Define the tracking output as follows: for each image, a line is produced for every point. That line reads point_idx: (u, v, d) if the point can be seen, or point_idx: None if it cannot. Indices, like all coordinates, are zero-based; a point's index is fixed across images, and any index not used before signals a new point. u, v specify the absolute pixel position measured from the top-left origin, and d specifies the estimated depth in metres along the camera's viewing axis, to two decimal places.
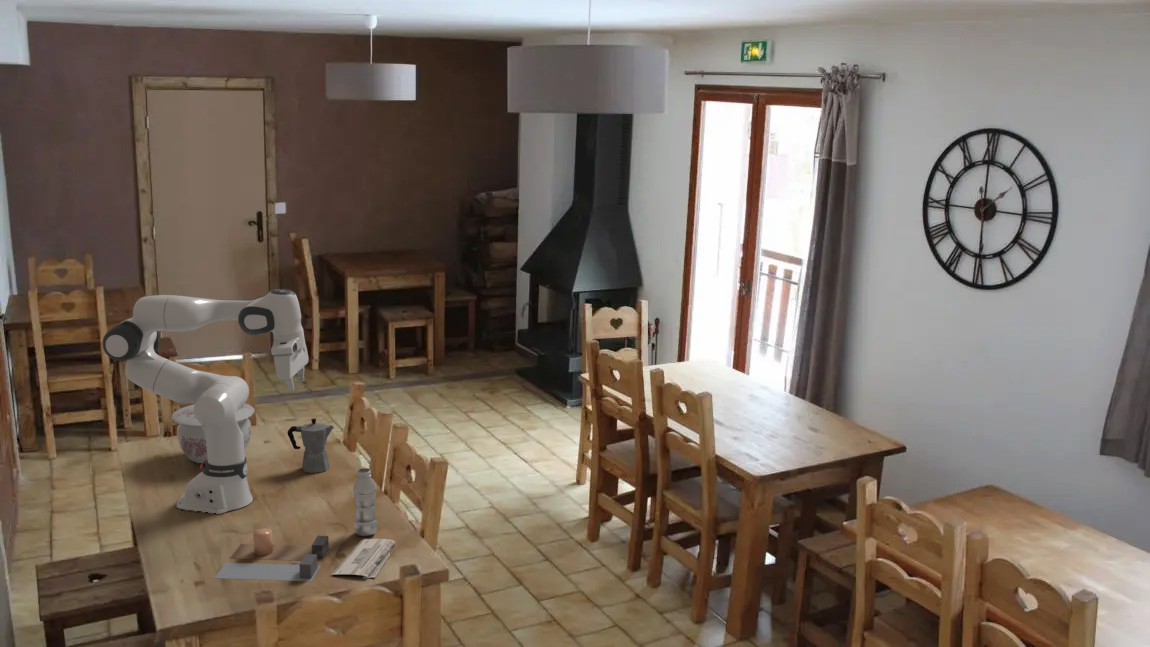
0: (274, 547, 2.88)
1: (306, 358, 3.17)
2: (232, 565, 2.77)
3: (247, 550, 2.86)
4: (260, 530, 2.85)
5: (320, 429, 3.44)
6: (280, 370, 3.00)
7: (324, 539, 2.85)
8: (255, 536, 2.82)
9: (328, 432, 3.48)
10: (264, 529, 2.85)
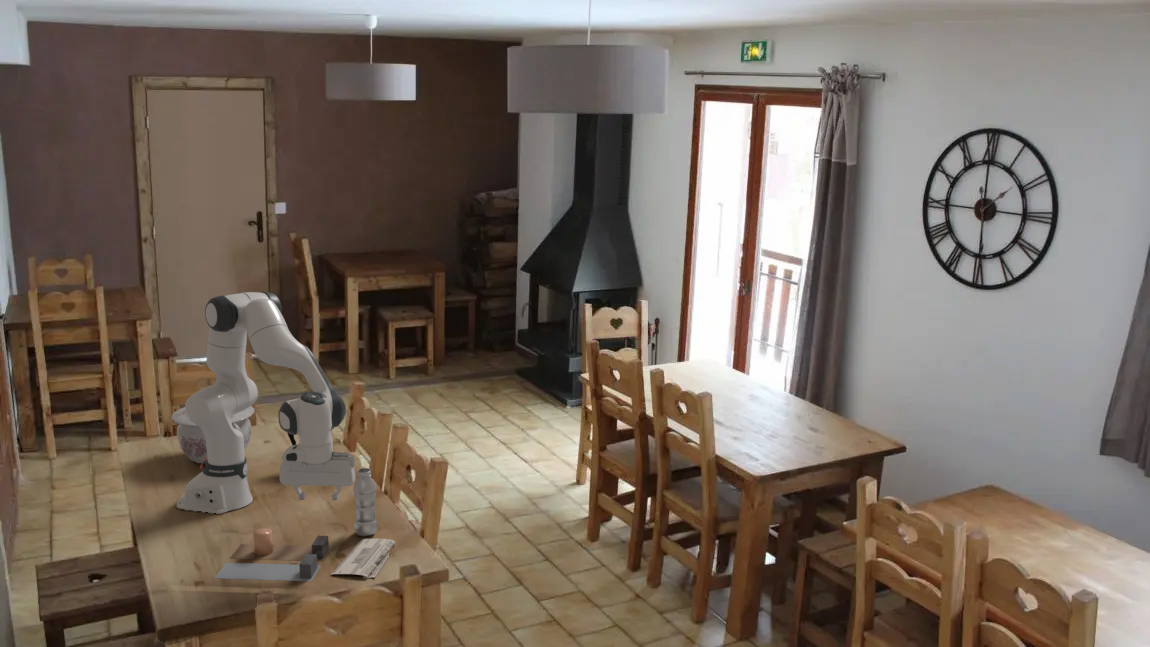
0: (274, 547, 2.88)
1: (343, 480, 2.78)
2: (232, 565, 2.77)
3: (247, 550, 2.86)
4: (260, 530, 2.85)
5: None
6: None
7: (324, 539, 2.85)
8: (255, 536, 2.82)
9: None
10: (264, 529, 2.85)
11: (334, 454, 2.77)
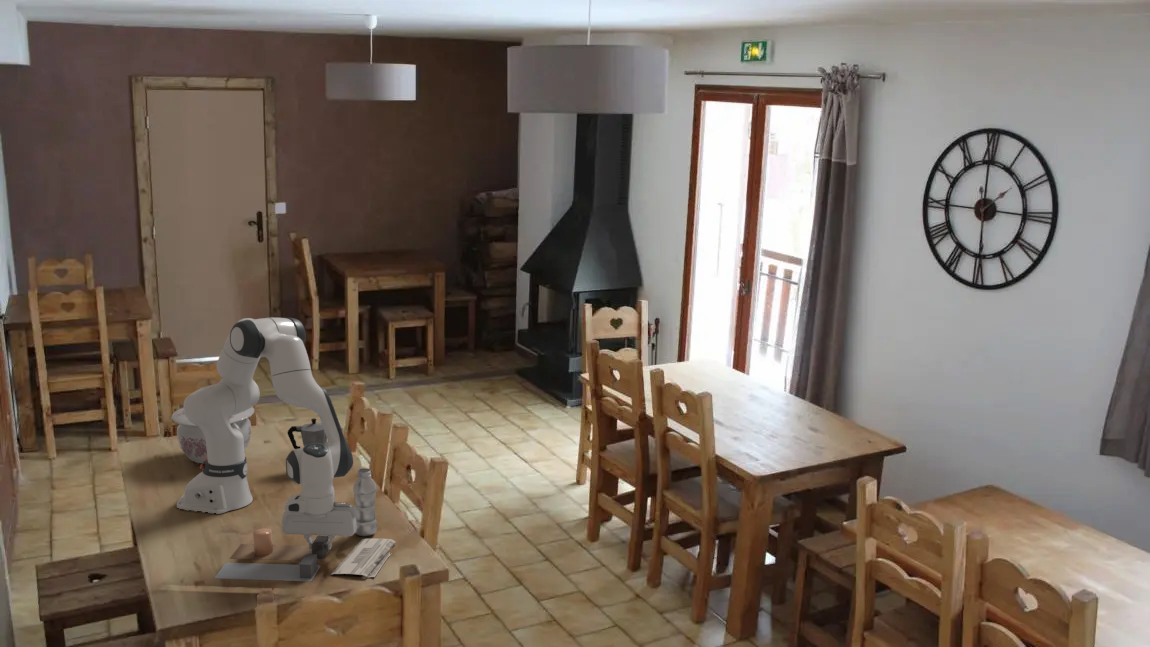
0: (274, 547, 2.88)
1: (344, 530, 2.81)
2: (232, 565, 2.77)
3: (246, 550, 2.86)
4: (260, 530, 2.85)
5: (320, 429, 3.44)
6: None
7: (324, 539, 2.85)
8: (255, 536, 2.82)
9: None
10: (264, 529, 2.85)
11: (336, 504, 2.81)
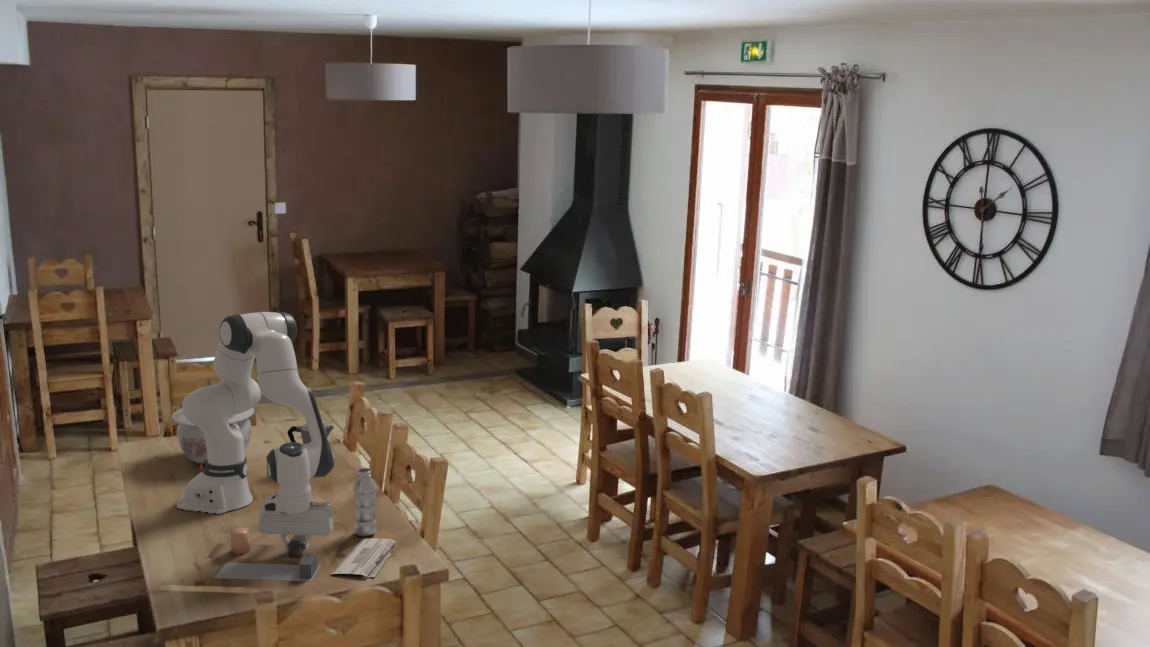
0: (251, 546, 2.88)
1: (321, 529, 2.81)
2: (232, 565, 2.77)
3: (224, 549, 2.86)
4: (237, 529, 2.85)
5: None
6: None
7: (301, 538, 2.85)
8: (232, 535, 2.82)
9: (328, 432, 3.48)
10: (241, 529, 2.85)
11: (312, 504, 2.81)
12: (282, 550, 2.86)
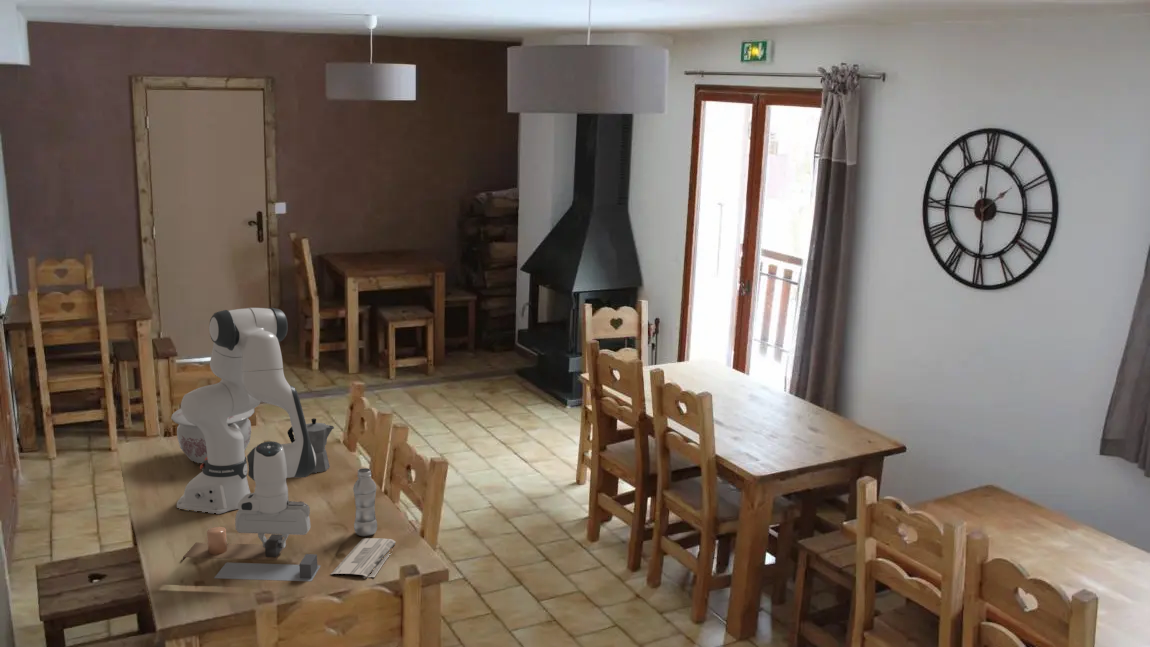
0: (229, 545, 2.88)
1: (298, 529, 2.81)
2: (232, 565, 2.77)
3: (201, 548, 2.86)
4: (214, 529, 2.85)
5: (320, 429, 3.44)
6: None
7: (278, 538, 2.85)
8: (209, 535, 2.82)
9: (328, 432, 3.48)
10: (218, 528, 2.86)
11: (289, 503, 2.81)
12: (259, 549, 2.86)
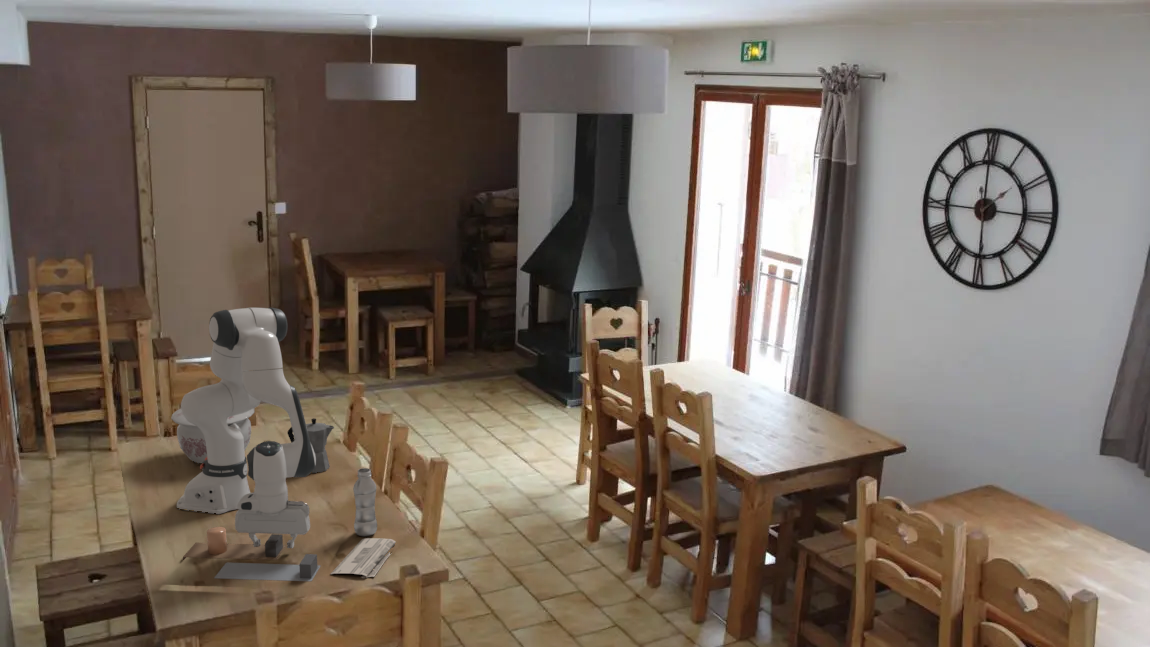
0: (228, 545, 2.88)
1: (297, 528, 2.81)
2: (232, 565, 2.77)
3: (201, 548, 2.86)
4: (214, 529, 2.85)
5: (320, 429, 3.44)
6: None
7: (278, 538, 2.85)
8: (208, 535, 2.82)
9: (328, 432, 3.48)
10: (218, 528, 2.86)
11: (289, 503, 2.81)
12: (259, 549, 2.86)
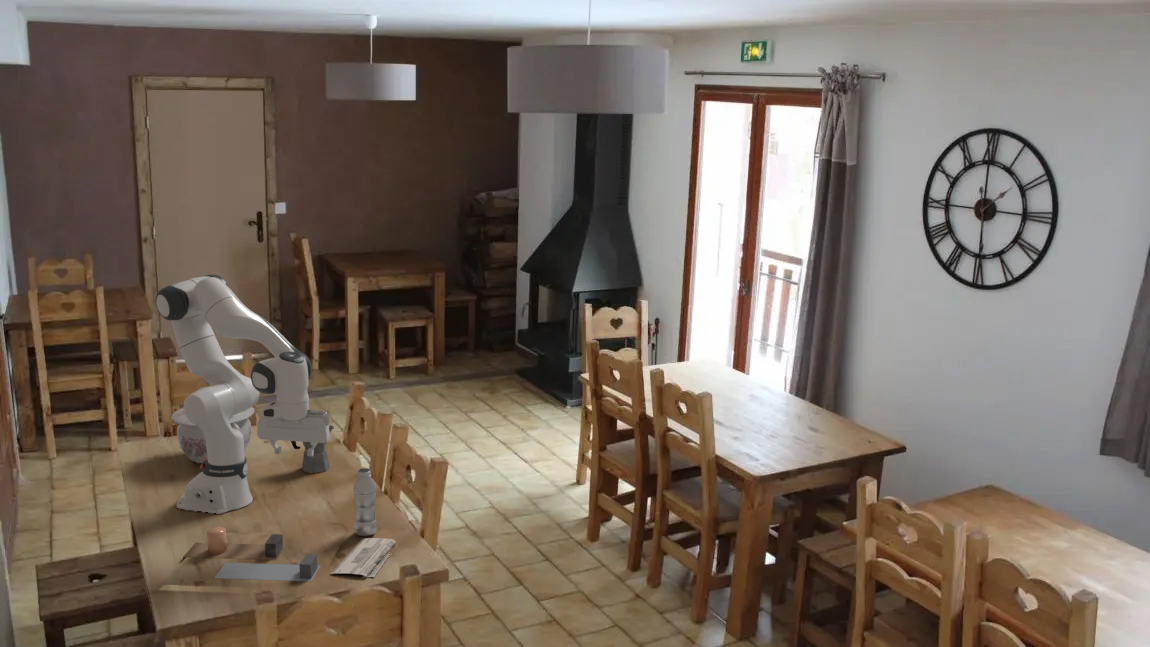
0: (228, 545, 2.88)
1: (317, 437, 2.90)
2: (232, 565, 2.77)
3: (201, 548, 2.86)
4: (214, 529, 2.85)
5: None
6: None
7: (278, 538, 2.85)
8: (208, 535, 2.82)
9: None
10: (218, 528, 2.86)
11: (310, 412, 2.90)
12: (259, 549, 2.86)
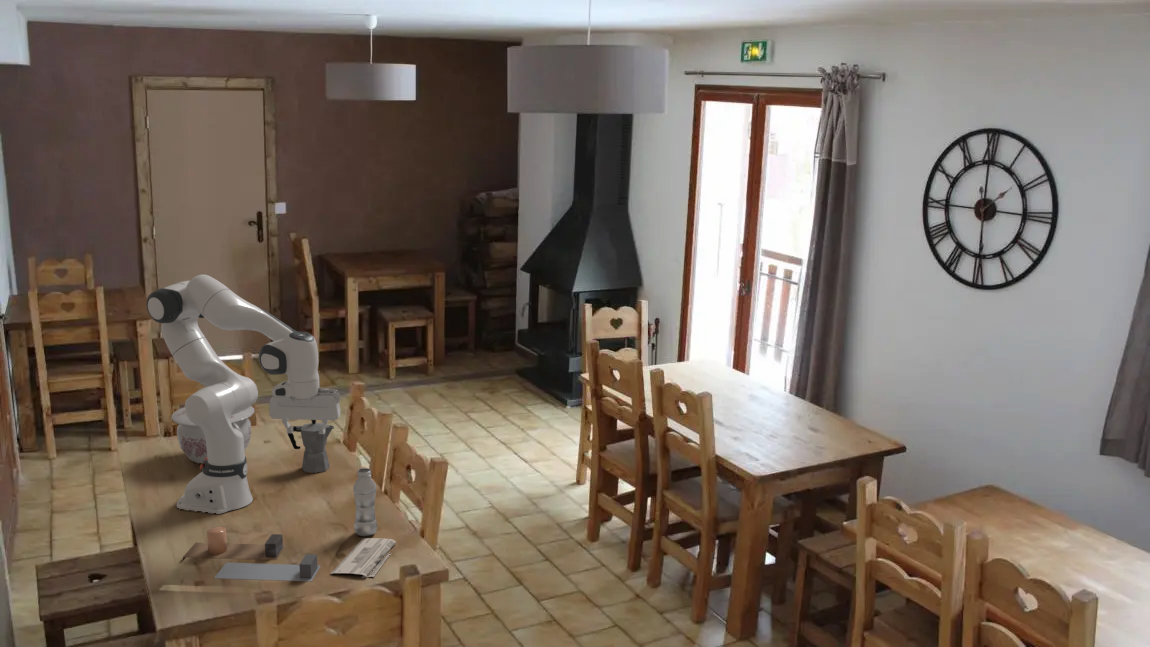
0: (228, 545, 2.88)
1: (329, 414, 2.96)
2: (232, 565, 2.77)
3: (201, 548, 2.86)
4: (214, 529, 2.85)
5: None
6: None
7: (278, 538, 2.85)
8: (208, 535, 2.82)
9: (328, 432, 3.48)
10: (218, 528, 2.86)
11: (320, 390, 2.95)
12: (259, 549, 2.86)
